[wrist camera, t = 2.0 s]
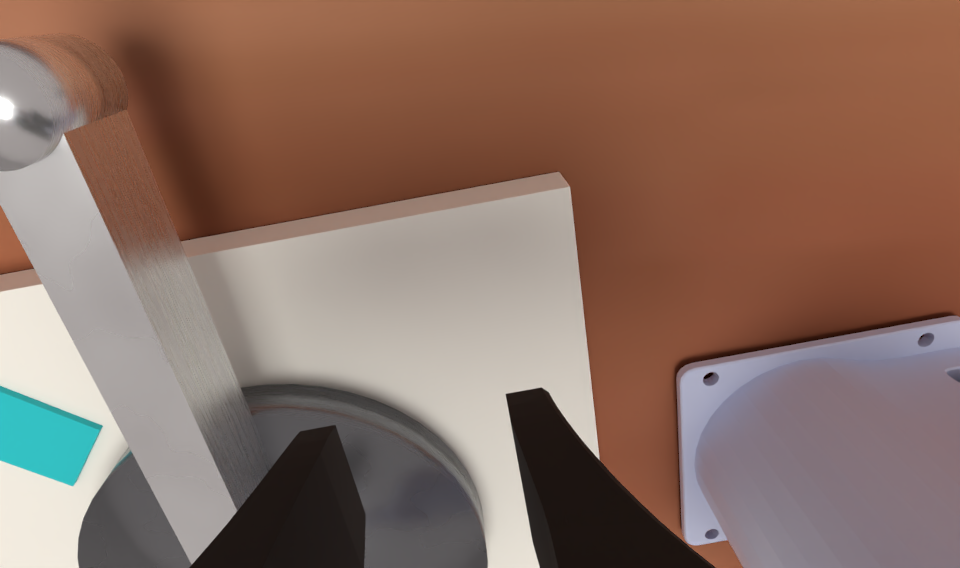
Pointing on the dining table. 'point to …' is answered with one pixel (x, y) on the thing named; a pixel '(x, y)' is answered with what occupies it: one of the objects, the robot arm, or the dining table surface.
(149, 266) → the crank handle
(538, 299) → the base board
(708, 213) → the dining table surface
